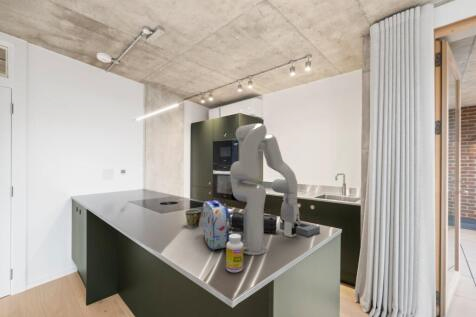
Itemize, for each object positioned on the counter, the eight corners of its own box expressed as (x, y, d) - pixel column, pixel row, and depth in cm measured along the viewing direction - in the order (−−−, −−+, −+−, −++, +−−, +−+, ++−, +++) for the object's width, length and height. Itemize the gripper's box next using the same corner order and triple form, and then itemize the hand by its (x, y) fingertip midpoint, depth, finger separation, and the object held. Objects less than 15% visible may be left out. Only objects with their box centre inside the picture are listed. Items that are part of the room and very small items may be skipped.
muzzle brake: (275, 235, 123) (276, 217, 123) (228, 231, 129) (228, 213, 129) (276, 229, 132) (276, 213, 132) (232, 226, 138) (232, 210, 138)
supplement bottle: (232, 275, 79) (232, 240, 79) (222, 267, 84) (223, 235, 85) (246, 269, 83) (246, 236, 83) (236, 263, 88) (236, 232, 89)
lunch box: (234, 252, 99) (234, 204, 99) (212, 255, 95) (212, 206, 96) (218, 233, 125) (218, 195, 125) (200, 235, 121) (200, 196, 121)
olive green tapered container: (183, 225, 140) (183, 210, 140) (198, 223, 144) (198, 208, 144) (187, 231, 128) (188, 214, 129) (204, 229, 133) (204, 213, 133)
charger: (290, 237, 118) (290, 222, 119) (284, 234, 122) (284, 220, 122) (295, 235, 121) (296, 221, 121) (289, 233, 125) (289, 219, 125)
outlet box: (307, 237, 119) (307, 230, 119) (280, 228, 134) (280, 222, 134) (319, 233, 126) (319, 226, 126) (292, 225, 142) (292, 219, 142)
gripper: (274, 199, 126) (274, 230, 126) (298, 203, 113) (298, 238, 113) (283, 198, 131) (282, 228, 131) (307, 202, 118) (306, 236, 117)
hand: (290, 232), depth 122 cm, fingers closed on charger, 4 cm apart
